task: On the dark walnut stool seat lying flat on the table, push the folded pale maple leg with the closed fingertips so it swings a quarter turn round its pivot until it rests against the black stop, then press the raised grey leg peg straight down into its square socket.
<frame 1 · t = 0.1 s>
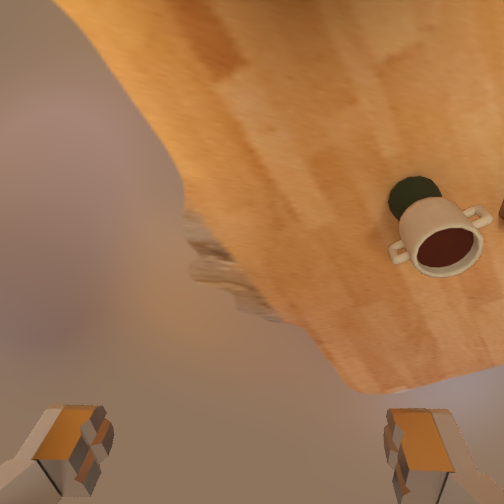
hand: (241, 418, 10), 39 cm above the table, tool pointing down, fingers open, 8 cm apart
character mug: (410, 195, 48), on the table
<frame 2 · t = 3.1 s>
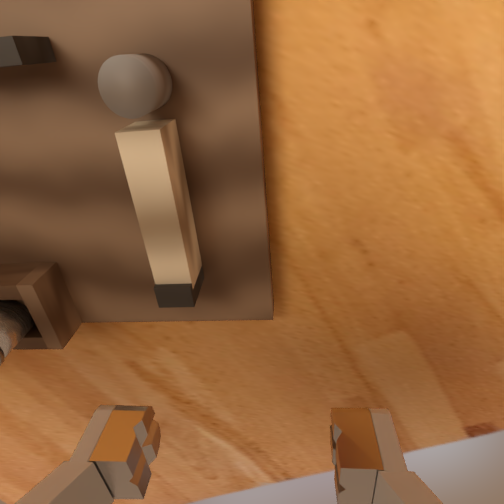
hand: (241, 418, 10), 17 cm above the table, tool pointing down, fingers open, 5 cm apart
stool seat: (107, 171, 25), on the table
folding leg: (160, 193, 21), point 4 cm above the table, hinge at 0.0°
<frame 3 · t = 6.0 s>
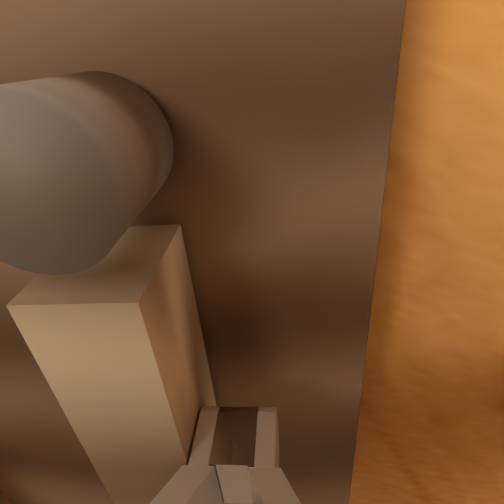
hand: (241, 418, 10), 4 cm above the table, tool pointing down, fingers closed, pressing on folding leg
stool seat: (46, 290, 13), on the table
folding leg: (146, 389, 9), point 4 cm above the table, hinge at -0.1°, touching gripper
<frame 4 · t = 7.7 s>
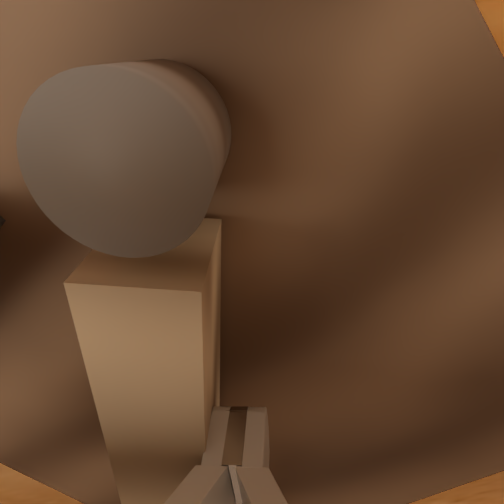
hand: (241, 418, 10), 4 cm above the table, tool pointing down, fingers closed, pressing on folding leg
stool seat: (206, 322, 13), on the table
folding leg: (166, 378, 9), point 4 cm above the table, hinge at -45.5°, touching gripper
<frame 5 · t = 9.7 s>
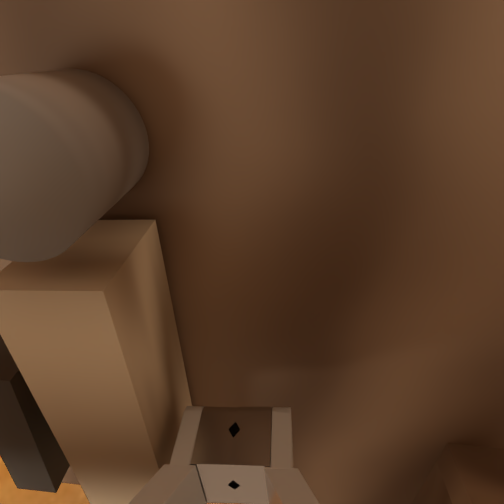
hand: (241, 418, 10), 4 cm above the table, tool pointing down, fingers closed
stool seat: (298, 284, 12), on the table
folding leg: (117, 379, 9), point 4 cm above the table, hinge at -83.8°
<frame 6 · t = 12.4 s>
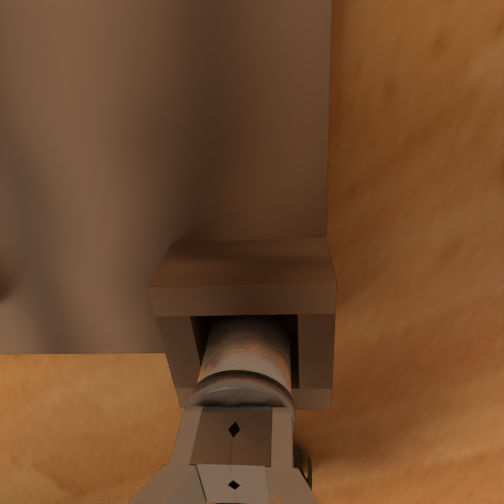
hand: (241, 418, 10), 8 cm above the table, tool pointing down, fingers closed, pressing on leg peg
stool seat: (11, 112, 14), on the table
character mug: (265, 453, 25), on the table
leg peg: (246, 367, 12), point 6 cm above the table, slide at 1.6 cm, touching gripper
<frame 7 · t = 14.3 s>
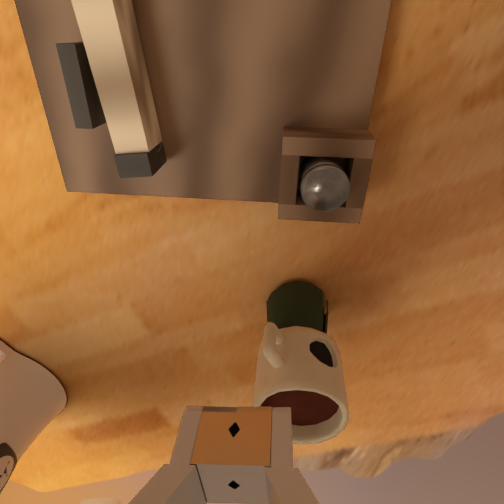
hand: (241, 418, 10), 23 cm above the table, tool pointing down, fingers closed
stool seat: (204, 44, 25), on the table
character mug: (296, 301, 37), on the table
leg peg: (322, 179, 25), point 4 cm above the table, slide at 0.3 cm
folding leg: (116, 58, 23), point 4 cm above the table, hinge at -83.8°
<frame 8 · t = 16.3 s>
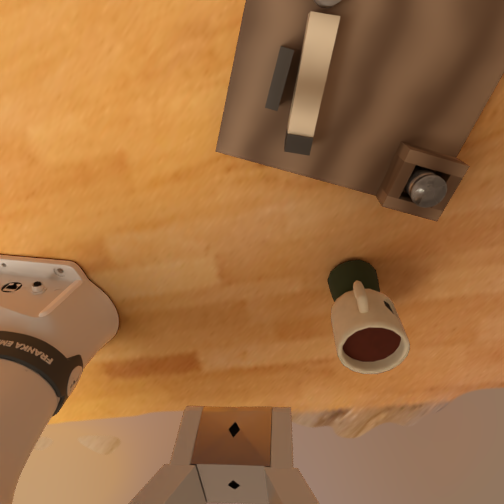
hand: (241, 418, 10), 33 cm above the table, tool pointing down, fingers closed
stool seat: (360, 69, 34), on the table
character mug: (351, 276, 47), on the table
leg peg: (421, 184, 35), point 4 cm above the table, slide at 0.3 cm
folding leg: (313, 66, 31), point 4 cm above the table, hinge at -83.8°
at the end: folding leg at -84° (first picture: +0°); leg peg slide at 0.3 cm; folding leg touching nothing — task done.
